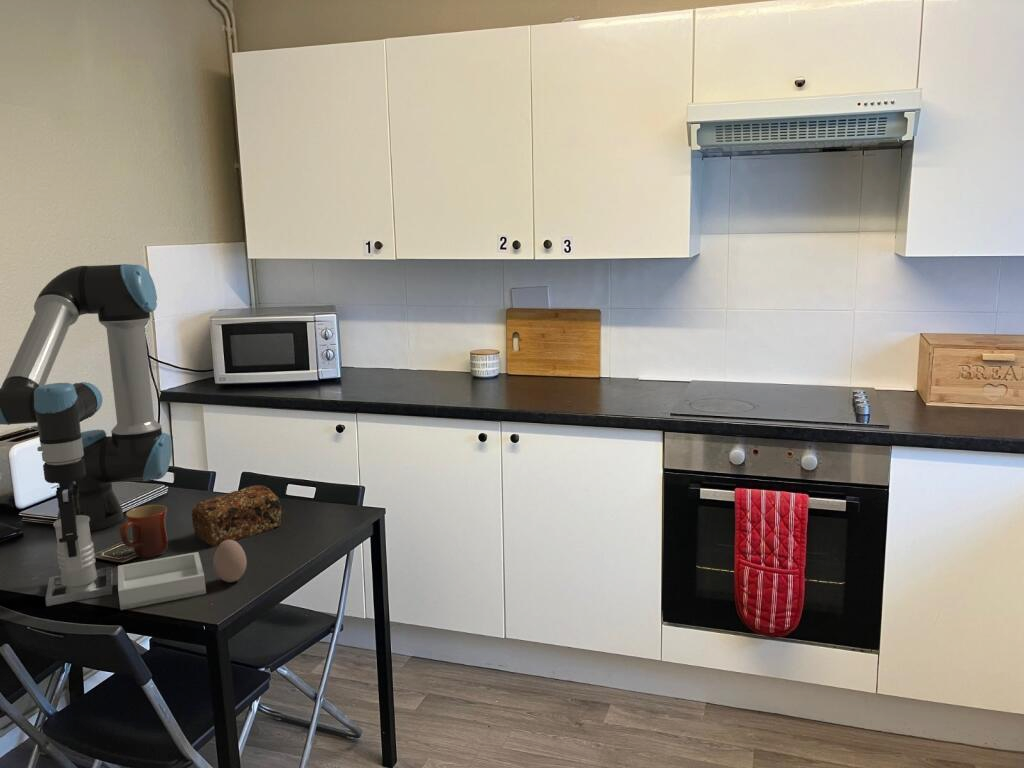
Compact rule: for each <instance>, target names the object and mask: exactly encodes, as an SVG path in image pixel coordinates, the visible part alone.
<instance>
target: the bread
mask: <svg viewBox="0 0 1024 768" xmlns="http://www.w3.org/2000/svg"><path fill="white" fill-rule="evenodd" d="M280 503H281V500H280V499H279V497H278V496H277V495H276V494H275V493H274V492H273V491H272V490H271V489H270V488H268V486H265V485H258V484H257V485H256V484H255V485H251V486H247V487H244V488H242V489H240V490H233V491H230V492H229V493H225V494H222V495H220V496H216V497H212V498H210V499H207V500H203V501H201V502H198V503H197V504H196V505H194V506H193V508H192V510H191V511H192V513H191V517H192V528H193V530H194V534H195V536H196V538H198V539H199V540H200V541H201V542H202V541H203V542H205V543H207V545H209V546H211V547H218V546H219V545H220V544H221V543H222V542H223V541H225V540H233V541H236V542H237V541H238V540H241V539H245V538H247V537H249V538H250V537H251V536H255V535H256V534H261V533H264V532H268V531H271V530H274V528H277V527H279V526H281V523H282V521H281V519H282V517H281V516H282V507H281V506H282V505H280Z"/></svg>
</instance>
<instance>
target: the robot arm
mask: <svg viewBox="0 0 1024 768" xmlns="http://www.w3.org/2000/svg"><path fill="white" fill-rule="evenodd" d="M157 301H158V296H157V290H156V286H155V283H154V280H153V278H152V276H151V274H150V272H149V271H148V269H147V268H146V267H144V266H142V265H140V264H131V263H130V264H127V263H126V264H125V263H122V264H108V265H106V264H104V265H103V264H101V265H78V266H73V267H70V268H69V269H66V270H64V271H62V272H61V273H59V274H58V275H56V276H55V277H54V278H52V279H51V280H50V281H49V282H48V283H46V285H45V286H44V287H43V288H42V290H41V291H40V292H39V294H38V296H37V298H36V300H35V301H34V304H33V310H34V312H35V313H34V316H33V317H32V320H31V322H30V324H29V327H28V328H27V331H26V333H25V335H24V337H23V340H22V342H21V344H20V346H19V349H18V350H17V352H16V355H15V356H14V359H13V361H12V363H11V366H10V368H9V371H8V372H7V374H6V376H5V378H4V381H3V382H2V384H1V387H0V425H7V426H9V425H20V424H21V425H22V424H35V423H36V424H37V430H38V437H39V444H40V446H37V449H36V450H37V451H38V452H41V459H42V461H43V462H44V463H43V465H42V468H43V477H44V481H45V482H46V483H49V484H57V485H59V486H58V487H56V490H55V497H56V499H57V505H58V511H57V512H58V513H57V518H56V521H57V520H59V519H61V528H62V538H61V539H59V543H62V542H63V543H64V551H65V558H66V566H67V573H68V572H74V571H80V570H83V568H82V560H81V552H80V545H79V538H78V536H77V525H76V515H85V516H89V517H90V521H89V527H90V532H96V531H100V530H104V529H106V528H110V527H113V526H115V525H117V524H119V523H120V522H121V521H122V520H123V519H124V512H123V508H122V506H121V505H122V504H120V501H119V499H118V498H117V496H116V494H115V492H114V490H113V484H112V483H123V482H128V483H129V482H148V481H154V480H155V481H157V480H160V479H162V478H164V477H165V476H166V474H167V472H168V470H169V467H170V464H171V461H172V453H173V451H172V450H173V443H172V439H171V435H170V434H169V433H166V432H163V429H162V425H161V424H160V423H159V422H157V420H155V416H154V405H153V396H152V387H151V386H152V385H151V377H150V369H149V368H150V366H149V358H148V348H147V339H146V329H145V326H146V324H147V323H148V322H149V320H150V319H151V313H153V312H155V310H156V309H157V305H158V303H157ZM95 314H97V315H98V316H97V317H98V322H99V323H100V324H101V325H102V326H104V328H105V329H106V336H107V345H108V346H107V347H108V353H109V362H110V370H111V382H112V389H113V399H114V408H115V415H116V416H115V417H116V423H117V424H116V425H115V426H113V428H112V429H111V436H110V435H109V436H107V433H106V431H105V430H104V429H90V430H87V431H82V432H81V423H80V422H83V421H85V420H86V419H89V418H91V417H93V416H95V414H96V413H97V412H99V410H100V409H101V408H102V405H103V395H102V392H101V391H100V389H99V388H98V387H97V386H96V385H95V384H92V383H90V382H86V381H85V382H84V381H83V382H75V383H73V384H72V383H71V382H54V383H47V381H48V378H49V376H50V373H51V371H52V368H53V366H54V363H55V362H56V359H57V356H58V354H59V352H60V349H61V348H62V344H63V342H64V340H65V338H66V335H67V333H68V331H69V329H70V328H69V327H70V326H73V325H74V324H75V323H76V322H78V319H79V317H80V316H82V315H95ZM46 383H47V384H46ZM71 533H73V534H71ZM66 534H71V535H66Z"/></svg>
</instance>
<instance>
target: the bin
mask: <svg viewBox="0 0 1024 768" xmlns="http://www.w3.org/2000/svg"><path fill="white" fill-rule="evenodd" d="M201 561H202V560H201V557H200V554H199V551H196V552H189V553H184V554H178V555H172V556H166V557H162V558H161V557H160V558H155V559H149V560H145V561H138V562H132V563H126V564H121V565H118V566H117V589H118V590H117V592H118V599H119V600H118V601H119V607H120V608H119V609H120V611H123V610H129V609H134V608H140V607H144V606H150V605H155V604H160V603H164V602H171V601H176V600H180V599H181V600H182V599H185V598H191V597H196V596H200V595H201V596H202V595H205V594H207V589H206V588H207V587H206V580H205V574H204V569H203V565H202V562H201Z"/></svg>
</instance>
